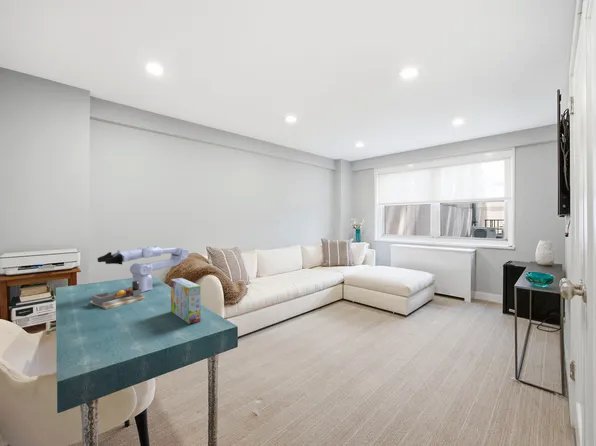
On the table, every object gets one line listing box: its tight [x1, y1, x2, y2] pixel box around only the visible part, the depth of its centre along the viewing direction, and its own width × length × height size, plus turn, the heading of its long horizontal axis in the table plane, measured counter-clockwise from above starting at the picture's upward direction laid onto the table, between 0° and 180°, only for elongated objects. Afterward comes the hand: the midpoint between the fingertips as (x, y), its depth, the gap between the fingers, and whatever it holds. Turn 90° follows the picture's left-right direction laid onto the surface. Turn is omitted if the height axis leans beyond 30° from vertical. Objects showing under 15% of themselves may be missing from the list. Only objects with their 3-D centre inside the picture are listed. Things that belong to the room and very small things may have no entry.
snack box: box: [170, 277, 202, 325], centre depth 122 cm, size 21×6×15 cm, turn 43°
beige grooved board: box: [90, 290, 146, 310], centre depth 145 cm, size 18×18×3 cm
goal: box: [91, 292, 115, 305], centre depth 140 cm, size 6×9×3 cm
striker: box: [125, 280, 142, 296], centre depth 148 cm, size 4×10×8 cm, turn 55°
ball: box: [116, 289, 126, 296], centre depth 147 cm, size 4×4×4 cm
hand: (101, 260), depth 146 cm, fingers open, 7 cm apart
